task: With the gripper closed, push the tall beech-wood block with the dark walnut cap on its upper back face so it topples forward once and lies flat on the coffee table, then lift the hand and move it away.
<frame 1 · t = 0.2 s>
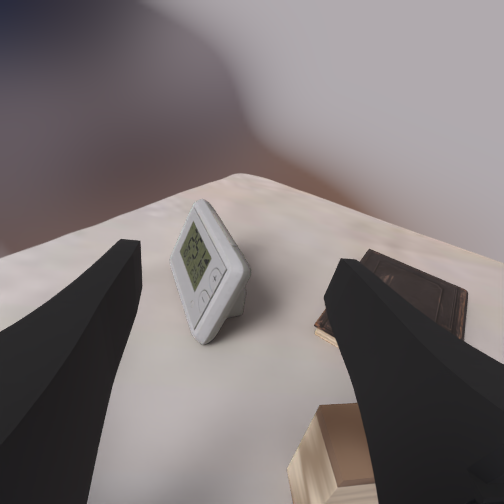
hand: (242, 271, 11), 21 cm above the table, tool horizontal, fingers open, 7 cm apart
beech block: (329, 495, 24), on the table
hardcover book: (394, 318, 43), on the table
digital clock: (201, 298, 40), on the table
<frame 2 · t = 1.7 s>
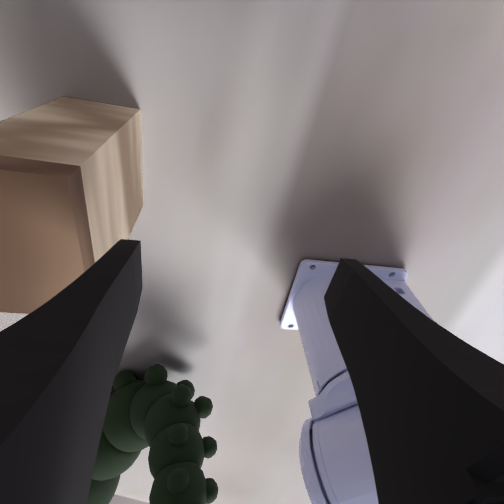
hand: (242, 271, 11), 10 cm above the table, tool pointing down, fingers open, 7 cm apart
beech block: (107, 156, 18), on the table
toy figurine: (121, 393, 34), on the table
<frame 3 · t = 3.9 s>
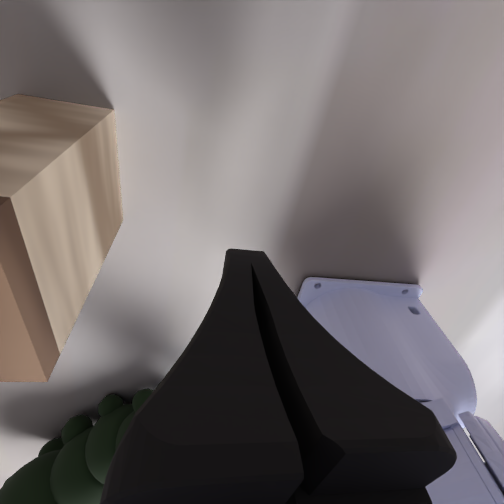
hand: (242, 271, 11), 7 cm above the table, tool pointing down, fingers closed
beech block: (77, 165, 15), on the table
toy figurine: (109, 415, 31), on the table
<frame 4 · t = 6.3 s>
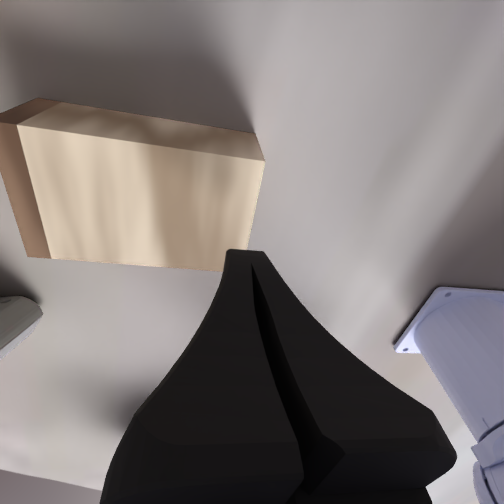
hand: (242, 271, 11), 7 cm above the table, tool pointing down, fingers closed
beech block: (248, 203, 16), point 2 cm above the table, tilted 90°
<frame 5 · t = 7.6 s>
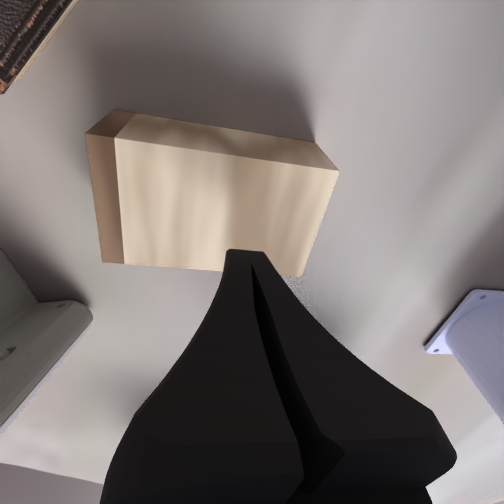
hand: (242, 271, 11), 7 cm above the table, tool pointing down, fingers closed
beech block: (307, 210, 16), point 2 cm above the table, tilted 90°
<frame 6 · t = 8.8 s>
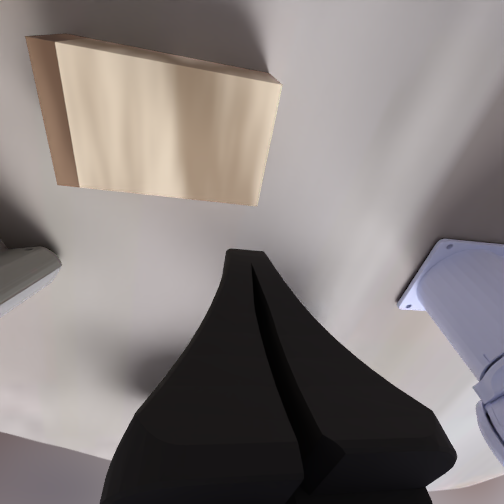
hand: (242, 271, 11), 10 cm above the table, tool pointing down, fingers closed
beech block: (262, 140, 16), point 2 cm above the table, tilted 90°
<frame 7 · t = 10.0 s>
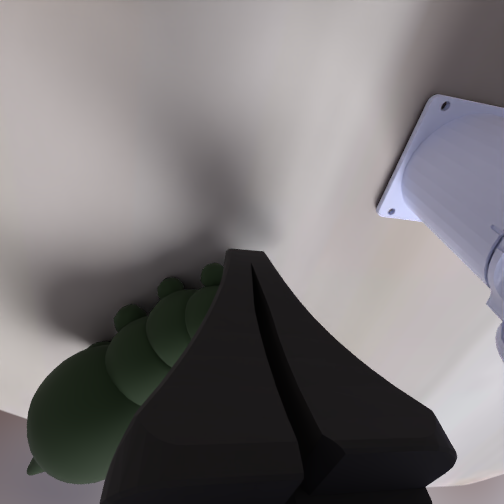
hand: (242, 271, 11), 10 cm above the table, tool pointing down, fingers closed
toy figurine: (161, 315, 27), on the table
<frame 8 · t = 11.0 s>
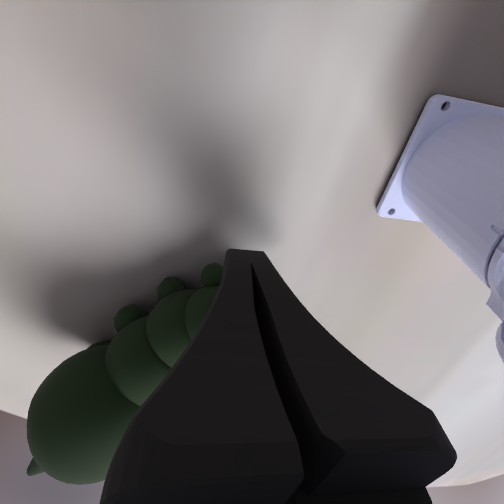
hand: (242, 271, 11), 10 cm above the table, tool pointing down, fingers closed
toy figurine: (161, 315, 27), on the table
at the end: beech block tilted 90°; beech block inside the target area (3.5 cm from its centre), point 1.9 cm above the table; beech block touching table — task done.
